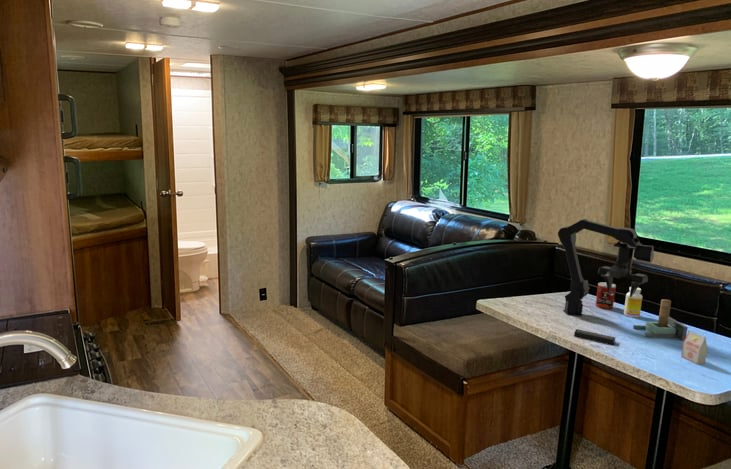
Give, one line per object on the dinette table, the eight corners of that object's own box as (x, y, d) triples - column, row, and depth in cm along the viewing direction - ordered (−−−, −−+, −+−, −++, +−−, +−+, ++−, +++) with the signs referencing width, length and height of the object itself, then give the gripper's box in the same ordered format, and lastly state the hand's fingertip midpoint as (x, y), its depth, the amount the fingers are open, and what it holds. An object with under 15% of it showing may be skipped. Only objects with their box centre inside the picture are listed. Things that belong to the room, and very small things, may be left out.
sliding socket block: (655, 336, 223) (656, 328, 222) (645, 329, 230) (646, 321, 230) (674, 337, 223) (676, 329, 222) (663, 330, 231) (665, 322, 230)
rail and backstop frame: (649, 340, 219) (652, 325, 217) (629, 326, 234) (631, 312, 233) (685, 341, 219) (687, 327, 218) (662, 327, 235) (664, 314, 234)
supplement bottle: (642, 318, 246) (646, 290, 244) (627, 317, 246) (631, 289, 244) (635, 313, 253) (639, 286, 250) (620, 313, 253) (624, 285, 250)
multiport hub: (613, 346, 211) (613, 340, 211) (573, 337, 218) (574, 331, 218) (614, 342, 215) (615, 337, 214) (575, 334, 222) (576, 328, 222)
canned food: (594, 307, 259) (597, 284, 257) (596, 303, 266) (599, 281, 264) (612, 310, 256) (615, 287, 254) (613, 306, 263) (616, 283, 261)
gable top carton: (689, 356, 204) (693, 330, 202) (704, 363, 197) (709, 337, 196) (681, 356, 203) (685, 330, 201) (696, 364, 196) (701, 337, 195)
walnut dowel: (660, 332, 225) (664, 301, 222) (655, 329, 228) (659, 299, 226) (668, 332, 225) (672, 301, 223) (663, 329, 228) (667, 299, 226)
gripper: (593, 255, 234) (589, 291, 237) (638, 265, 220) (633, 303, 223) (606, 253, 241) (602, 288, 244) (650, 262, 227) (645, 298, 230)
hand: (619, 294), depth 235 cm, fingers open, 9 cm apart
